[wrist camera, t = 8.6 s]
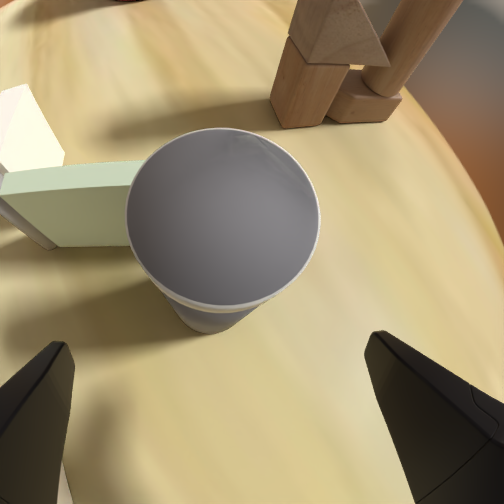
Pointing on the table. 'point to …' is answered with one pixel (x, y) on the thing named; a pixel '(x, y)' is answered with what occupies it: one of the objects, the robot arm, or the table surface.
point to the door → (70, 203)
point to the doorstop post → (221, 223)
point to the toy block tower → (351, 60)
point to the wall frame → (28, 162)
